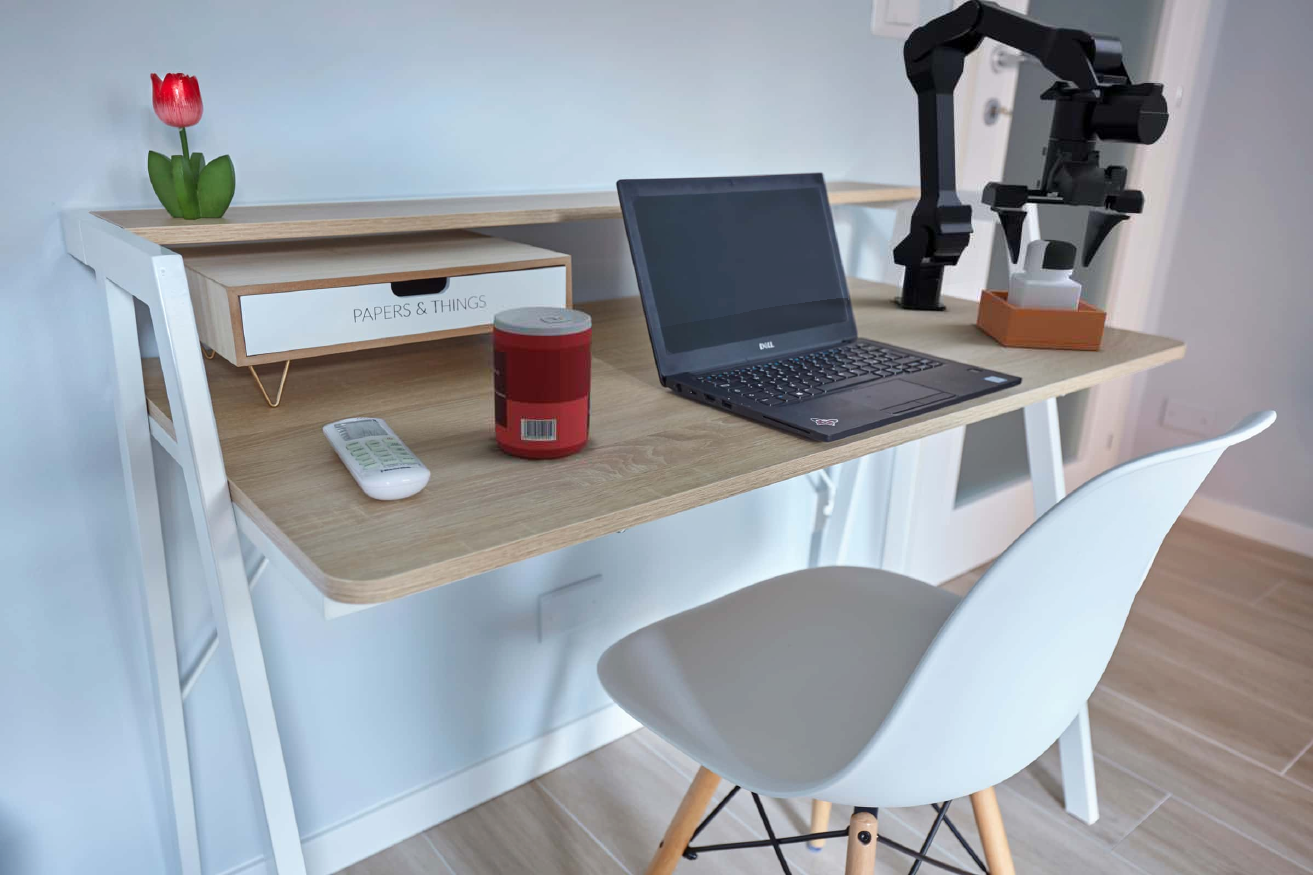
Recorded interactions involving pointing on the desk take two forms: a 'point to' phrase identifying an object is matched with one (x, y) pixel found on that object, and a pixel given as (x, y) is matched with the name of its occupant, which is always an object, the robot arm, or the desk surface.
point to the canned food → (542, 381)
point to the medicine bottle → (1046, 277)
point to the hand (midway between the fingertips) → (1049, 265)
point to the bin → (1040, 324)
